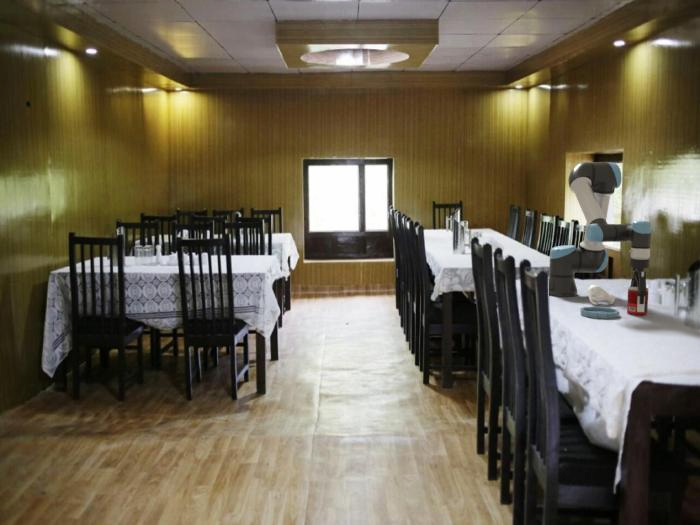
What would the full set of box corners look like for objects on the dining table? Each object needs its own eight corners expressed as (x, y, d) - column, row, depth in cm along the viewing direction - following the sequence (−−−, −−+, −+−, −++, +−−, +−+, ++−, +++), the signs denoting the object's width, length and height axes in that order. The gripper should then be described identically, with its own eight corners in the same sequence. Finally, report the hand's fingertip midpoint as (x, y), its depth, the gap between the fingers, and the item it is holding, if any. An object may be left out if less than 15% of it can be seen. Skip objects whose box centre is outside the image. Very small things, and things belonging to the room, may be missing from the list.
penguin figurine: (588, 283, 349) (615, 286, 347) (585, 301, 350) (612, 305, 348) (590, 285, 342) (618, 288, 341) (587, 304, 344) (615, 307, 342)
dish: (578, 311, 328) (578, 306, 328) (615, 312, 325) (615, 307, 325) (583, 318, 313) (583, 312, 313) (621, 319, 311) (621, 314, 310)
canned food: (648, 316, 318) (650, 289, 317) (628, 315, 320) (629, 289, 318) (645, 312, 326) (646, 287, 324) (625, 312, 327) (626, 286, 326)
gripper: (624, 254, 333) (622, 303, 335) (636, 261, 308) (633, 313, 311) (643, 255, 331) (640, 303, 334) (656, 262, 307) (653, 314, 310)
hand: (637, 308), depth 322 cm, fingers open, 13 cm apart
